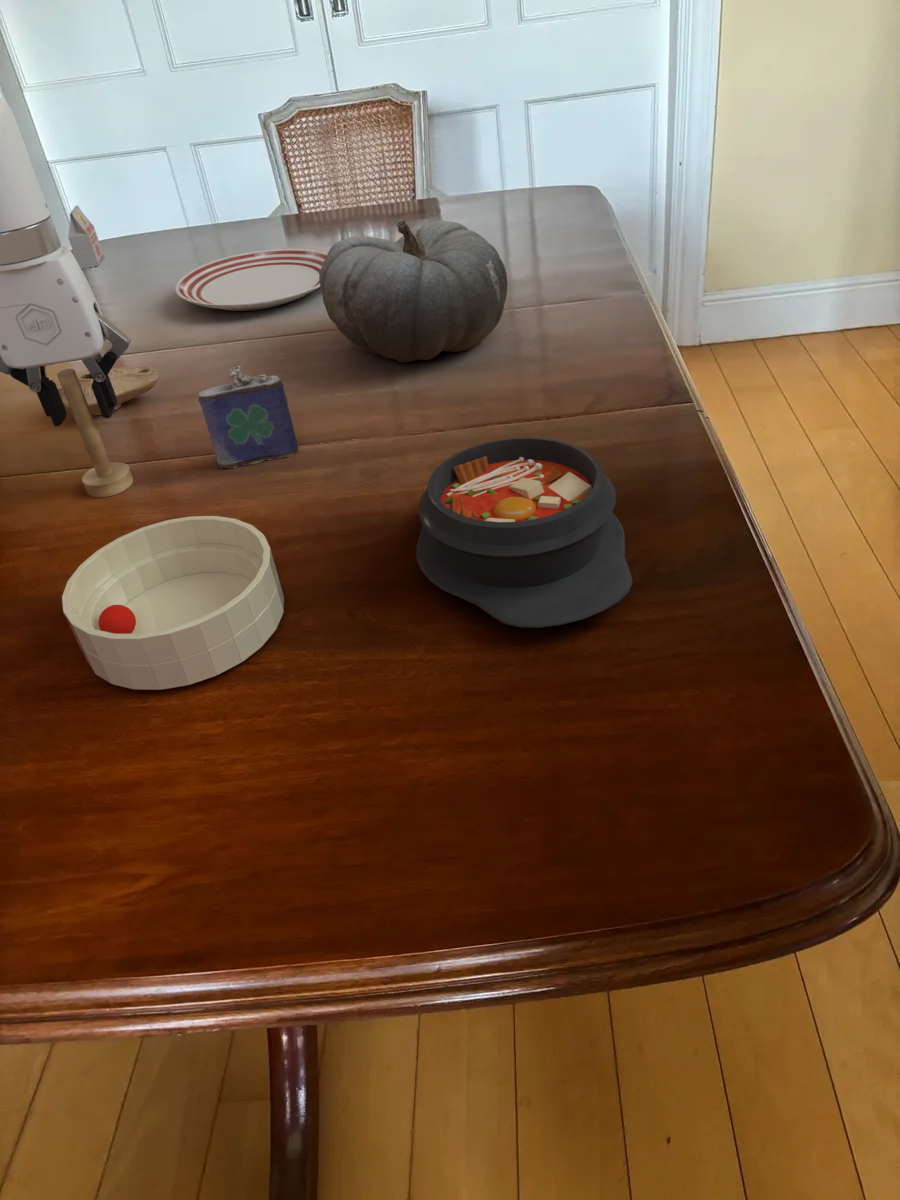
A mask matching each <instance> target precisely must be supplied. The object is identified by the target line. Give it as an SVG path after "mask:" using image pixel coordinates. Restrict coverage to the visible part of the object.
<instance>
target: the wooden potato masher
mask: <svg viewBox="0 0 900 1200" xmlns="http://www.w3.org/2000/svg"><path fill="white" fill-rule="evenodd" d="M76 372H77V371H76V370H75V369H74V368H65V369H63V370H60V371H59V372H57V374H56V376H57V379H58V381H59V383H60V384H61V386H62V388H63V391H64V393H65V396H66V398H67V401H68V403H69V406H70V408H69V409H70V410H71V413H72V416H73V418H74V421H75V423H76V426H77V428H78V431H79V433H80V435H81V438H82V441H83V442H84V446H85V449H86V451H87V453H88V455H89V456H88V457H89V458H90V461H91V464H92V466H93V467H92V468H90V469H89V470H87V471H86V472H85V473H84V474H83V476H82V478H81V482H82V484H83V486H84V489H85V491H86V494H87V495H88V496H90V497H93V498H97V499H99V498H109V497H112V496H116V495H118V494H121V493H123V492H124V491H127V490H128V489H129V488H131V486H132V485H133V483H134V476H133V473H132V472H131V469H130V466H129V465H128V464H127V463H125V462H122V461H121V462H120V461H113V462H111V461H110V458H109V456H108V453H107V450H106V447H105V445H104V442H103V440H102V437H101V434H100V432H99V429H98V426H97V424H96V422H95V419H94V415H92V414H91V411H90V408H89V406H88V403H87V401H86V398H85V395H84V393H83V390H82V388H81V385H80V382H79V380H78V377H77V375H76Z"/></svg>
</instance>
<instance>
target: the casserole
mask: <svg viewBox="0 0 900 1200" xmlns="http://www.w3.org/2000/svg"><path fill="white" fill-rule="evenodd" d="M616 496H617V492H616V488H615V487H614V484H613V482H612V481H611V480H610V478H609V477H608V476H607V475H606V473H604V472H603V468H602V466H601V464H600V463H599V461H598V460H597V458H595V456H593V455H592V454H591V453H589V452H588V451H586V450H585V449H583V448H581V447H578V446H577V445H574V444H572V443H569V442H564V441H561V440H557V439H550V438H544V437H509V438H503V439H495V440H491V441H487V442H482V443H478V444H476V445H473V446H470V447H467V448H465V449H463V450H461V451H458V452H456V453H454V454H452V455H451V456H450V457H448V458H447V459H445V460H443V462H441V463H440V464H439V465H438V466H437V467H436V468H435V469H434V471H433V472H432V474H431V475H430V476H429V479H428V483H427V487H426V490H425V491H424V492H423V493H422V495H421V496H420V497H421V498H420V501H419V504H418V517H419V520H420V522H421V524H422V526H421V527H422V528H421V530H420V533H419V537H418V539H417V543H416V547H415V555H416V561H417V564H418V567H419V569H420V572H422V573H423V574H424V576H425V577H426V578H427V580H429V582H431V583H432V584H433V585H434V586H436V587H438V588H439V589H440V590H442V591H444V592H445V593H448V594H450V595H453V596H455V597H457V598H460V599H461V600H464V601H466V602H468V603H470V604H473V605H475V606H476V607H478V608H479V609H481V610H482V611H484V612H485V613H487V614H488V615H490V616H491V617H493V618H494V619H496V620H497V621H498V622H499V621H500V623H502V624H504V625H508V626H513V627H517V628H539V629H541V628H547V627H556V626H561V625H562V626H563V625H566V624H570V623H573V622H577V621H582V620H585V619H588V618H590V617H593V616H594V615H597V614H600V613H602V612H604V611H605V610H607V609H609V608H610V607H613V606H614V605H615V604H617V603H619V602H620V601H621V600H622V599H623V598H624V597H625V596H627V594H629V593H630V590H631V587H632V585H633V581H634V580H633V578H632V572H631V570H630V567H629V563H628V562H627V559H626V533H625V531H624V528H623V526H622V523H621V521H620V520H619V518H618V517H617V515H615V513H614V509H615V506H616V503H617V497H616Z"/></svg>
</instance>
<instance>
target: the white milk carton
mask: <svg viewBox="0 0 900 1200" xmlns="http://www.w3.org/2000/svg"><path fill="white" fill-rule="evenodd" d="M67 238H68V241H69V244H70V247H71V249H72V253H73V256H74V257H75V259H76V261H77V262H78V264H79V266H80V268H81V270H86V269H91V268H90V267H92V268H96V267H95V266H98V265H99V263H100V262H101V263H102V261H103V259H104V258H103V256H104V257H105V255H104V251H103V249H102V247H101V243H100V241H99V238H98V234H97V231H96V229H95V225H94V224H93V223H92V222H91V221H90V219H88V217H87V216H86V215H85V213H84V212H83V211H82V209H81V208H80V206H79V205H78V204H77V205H75V206H74V207H73V209H72V210H71V212H70V213H69V229H68V237H67ZM102 258H103V259H102ZM101 260H102V261H101ZM101 263H100V264H101ZM99 266H100V265H99ZM99 266H98V267H99Z"/></svg>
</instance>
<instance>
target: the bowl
mask: <svg viewBox="0 0 900 1200" xmlns="http://www.w3.org/2000/svg"><path fill="white" fill-rule="evenodd" d="M279 577H280V576H279V574H278V570H277V567H276V564H275V560H274V556H273V552H272V549H271V546H270V544H269V542H268V540H267V537H266V535H265V534H263V533H262V531H260V530H259V529H257V528H256V526H254V525H252V524H251V523H248V522H245V521H243V520H240V519H237V518H235V517H226V516H219V515H198V516H197V515H192V516H184V517H179V518H172V519H167V520H163V521H159V522H156V523H153V524H149V525H145V526H142V527H140V528H138V529H135V530H133V531H131V532H129V533H126V534H124V535H121V536H119V537H117V538H115V539H114V540H112V541H111V542H108V543H107V544H106V545H104V546H102V547H101V548H99V549H97V550H96V551H95V552H94V553H92V554H91V555H90V556H89V557H88V558H87V559H85V560H84V561H83V562H82V563H80V565H79V566H78V567H77V568H76V569H75V571H74V572H73V573H72V574H71V576H70V577H69V578H68V580H67V582H66V584H65V587H64V590H63V592H62V595H61V603H62V612H63V615H64V616H65V619H66V622H67V623H68V625H69V627H70V630H71V631H72V634H73V636H74V637H75V640H76V642H77V644H78V646H79V648H80V650H81V652H82V654H83V656H84V659H85V661H86V663H87V664H88V665H89V667H90V668H91V670H92V671H93V673H94V674H95V675H96V676H98V677H99V678H101V679H103V680H104V681H106V682H107V683H109V684H111V685H114V686H117V687H118V686H119V687H122V688H127V689H130V690H137V691H139V690H141V691H143V690H144V691H146V690H147V691H160V690H161V691H162V690H168V689H173V688H174V689H175V688H179V687H185V686H190V685H193V684H195V683H199V682H202V681H205V680H208V679H211V678H214V677H217V676H218V675H220V674H223V673H224V672H227V671H228V670H231V669H232V668H234V667H236V666H238V665H240V664H241V663H243V662H244V661H246V660H247V659H248V658H250V657H251V656H252V655H253V654H254V653H256V652H257V651H259V650H260V649H261V648H263V646H265V644H266V642H267V641H268V640H269V639H270V638H271V637H272V636H273V634H274V633H275V632H276V631H277V629H278V627H279V624H280V621H281V620H282V618H283V615H284V610H285V595H284V592H283V588H282V585H281V581H280V578H279ZM112 605H123V606H126V607H128V608H129V609H130V610H131V611H132V612H133V613H134V615H135V618H136V626H135V629H134V631H133V632H132V633H131V634H114V633H109V632H105V631H101V630H100V628H99V617H100V615H101V613H102V612H103V610H105V609H106V608H107V607H109V606H112Z"/></svg>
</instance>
